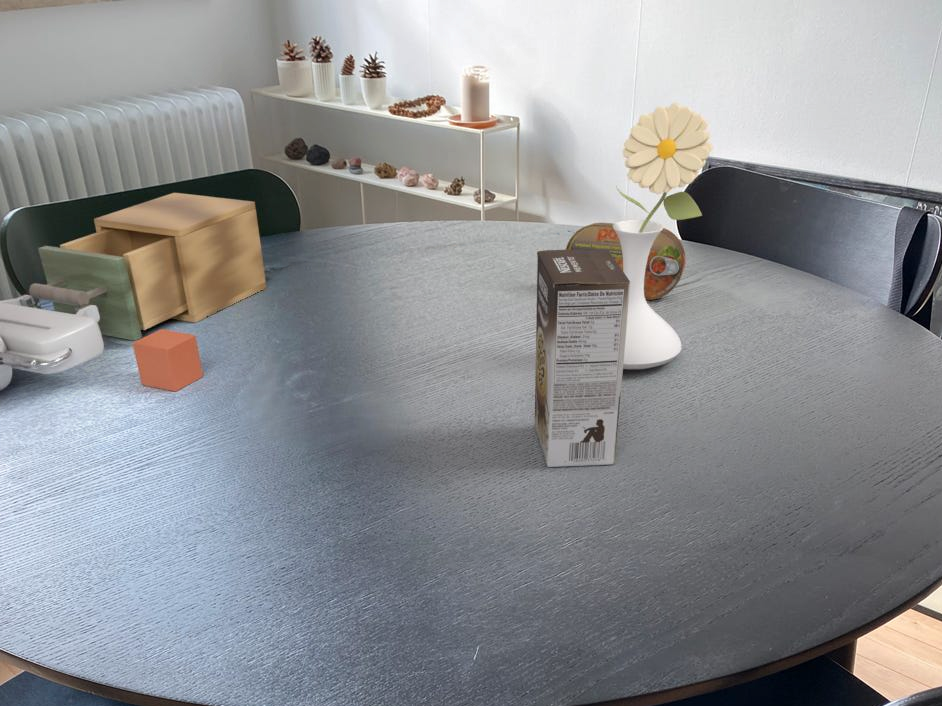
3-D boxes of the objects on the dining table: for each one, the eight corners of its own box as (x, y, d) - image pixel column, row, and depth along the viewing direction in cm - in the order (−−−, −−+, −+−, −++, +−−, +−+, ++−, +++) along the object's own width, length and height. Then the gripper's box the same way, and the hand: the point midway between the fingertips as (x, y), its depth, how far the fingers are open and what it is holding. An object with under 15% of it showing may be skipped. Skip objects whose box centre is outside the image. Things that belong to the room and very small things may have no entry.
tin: (562, 291, 126) (565, 221, 121) (569, 284, 128) (572, 215, 123) (678, 304, 121) (686, 232, 116) (683, 296, 124) (691, 226, 119)
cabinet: (195, 323, 117) (178, 229, 111) (114, 309, 122) (93, 218, 116) (266, 288, 128) (255, 201, 122) (189, 276, 132) (174, 192, 126)
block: (175, 392, 101) (167, 349, 98) (141, 385, 102) (131, 342, 100) (203, 376, 104) (195, 334, 101) (169, 370, 105) (161, 328, 103)
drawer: (106, 354, 107) (86, 271, 102) (28, 339, 111) (5, 259, 106) (210, 305, 120) (197, 229, 115) (137, 293, 124) (121, 219, 119)
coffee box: (531, 425, 93) (535, 249, 84) (598, 422, 94) (610, 246, 84) (544, 469, 86) (550, 281, 76) (617, 465, 86) (632, 278, 77)
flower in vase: (552, 361, 106) (562, 101, 91) (615, 333, 113) (634, 87, 98) (652, 393, 99) (680, 116, 84) (713, 361, 106) (749, 100, 91)
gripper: (33, 337, 92) (131, 288, 102) (-120, 310, 99) (-15, 267, 109) (53, 399, 96) (146, 347, 106) (-95, 370, 103) (4, 323, 113)
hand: (63, 306), depth 107 cm, fingers closed on drawer, 7 cm apart
